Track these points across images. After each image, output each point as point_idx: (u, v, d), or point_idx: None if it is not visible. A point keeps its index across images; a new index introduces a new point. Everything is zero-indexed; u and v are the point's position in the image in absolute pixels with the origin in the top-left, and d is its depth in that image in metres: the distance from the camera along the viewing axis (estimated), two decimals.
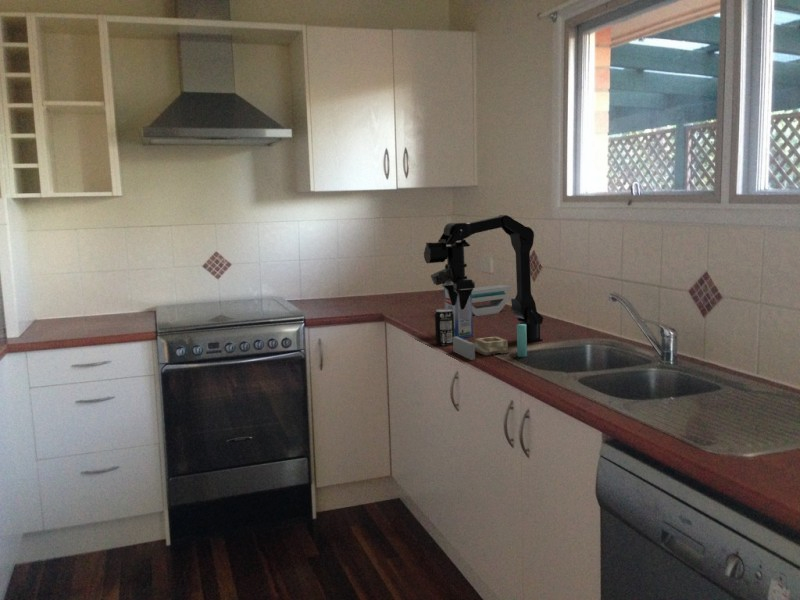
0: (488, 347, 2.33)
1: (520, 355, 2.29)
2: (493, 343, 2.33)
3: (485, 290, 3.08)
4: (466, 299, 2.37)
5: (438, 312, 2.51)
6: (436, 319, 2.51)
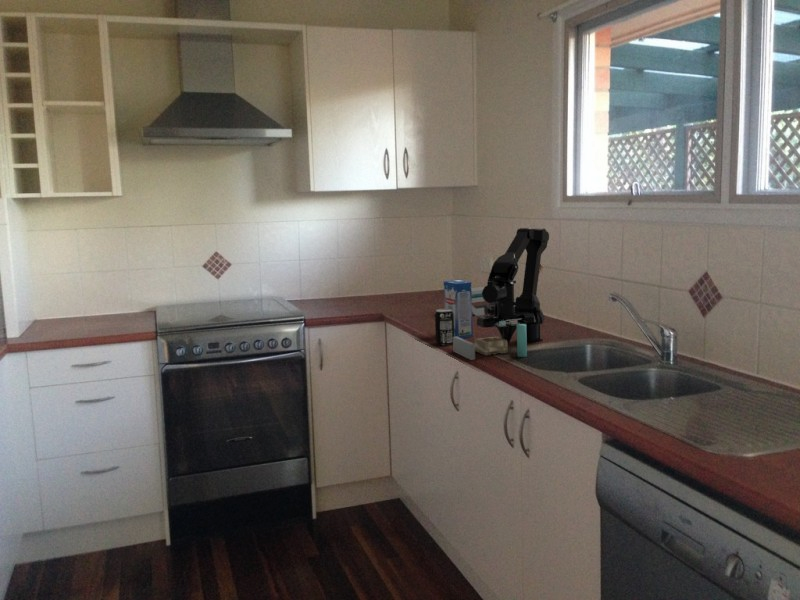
0: (488, 347, 2.33)
1: (520, 355, 2.29)
2: (493, 343, 2.33)
3: None
4: (504, 336, 2.37)
5: (438, 312, 2.51)
6: (436, 319, 2.51)
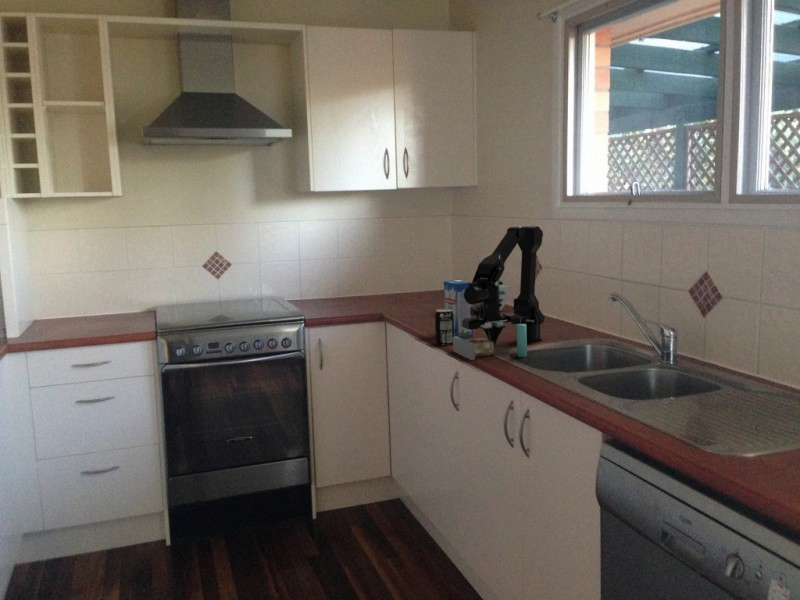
0: None
1: (520, 355, 2.29)
2: (479, 345, 2.32)
3: None
4: (490, 338, 2.36)
5: (438, 312, 2.51)
6: (436, 319, 2.51)
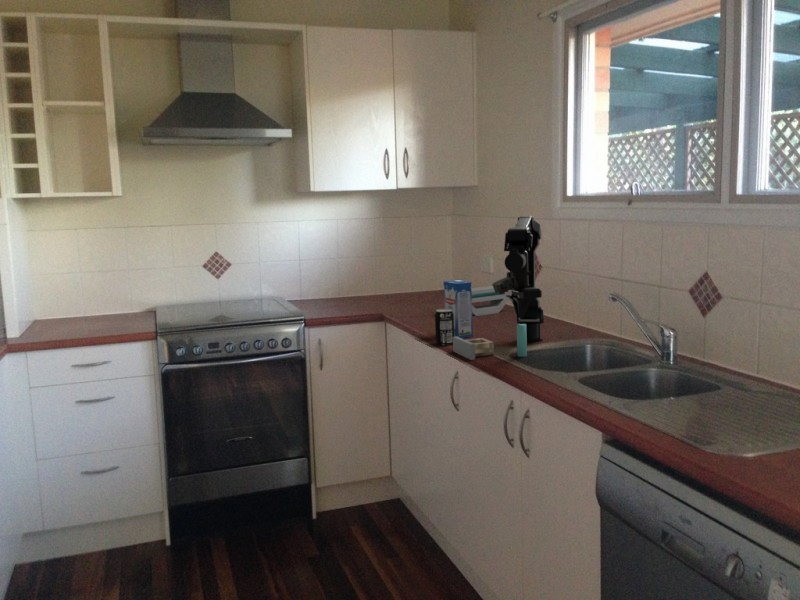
0: None
1: (520, 355, 2.29)
2: (479, 345, 2.32)
3: (485, 290, 3.08)
4: (525, 307, 2.27)
5: (438, 312, 2.51)
6: (436, 319, 2.51)
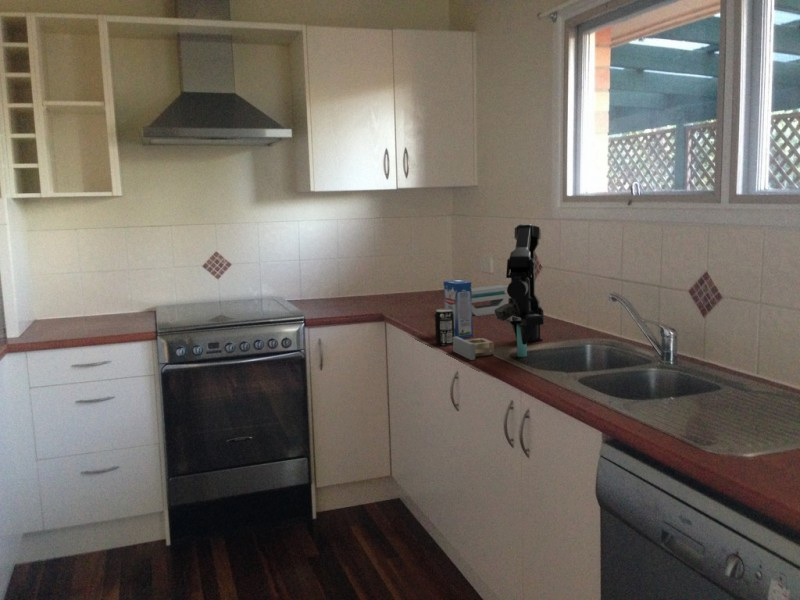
0: None
1: (520, 355, 2.29)
2: (479, 345, 2.32)
3: (485, 290, 3.08)
4: (529, 334, 2.27)
5: (438, 312, 2.51)
6: (436, 319, 2.51)
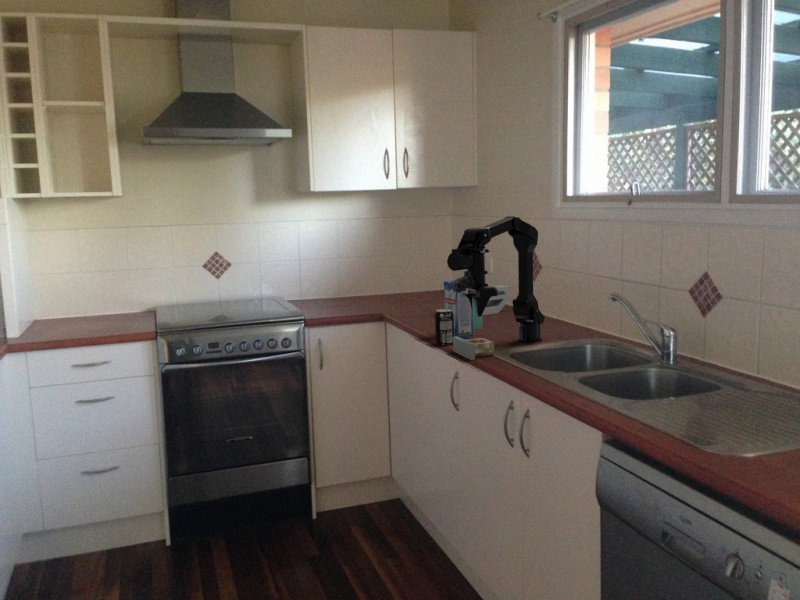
0: None
1: (475, 327, 2.33)
2: (479, 345, 2.32)
3: None
4: (484, 306, 2.31)
5: (438, 312, 2.51)
6: (436, 319, 2.51)
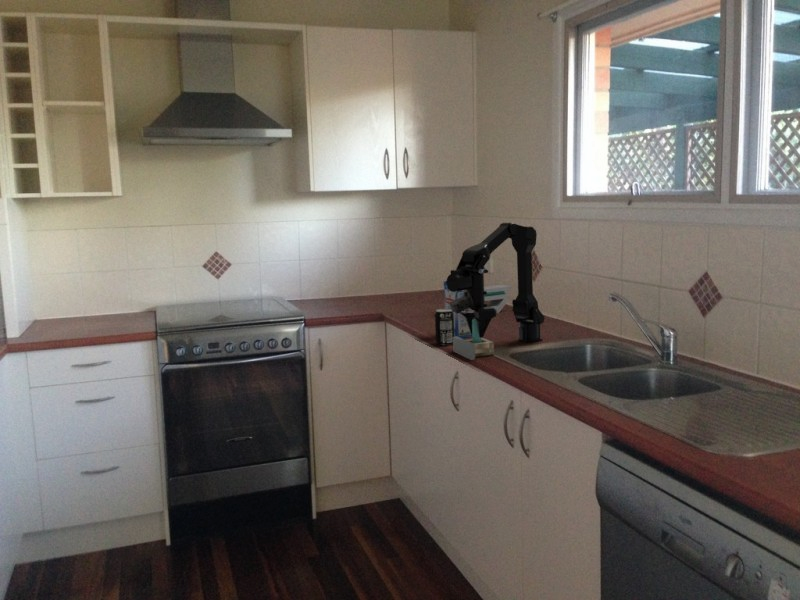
0: None
1: None
2: (479, 345, 2.32)
3: (485, 290, 3.08)
4: (485, 327, 2.31)
5: (438, 312, 2.51)
6: (436, 319, 2.51)
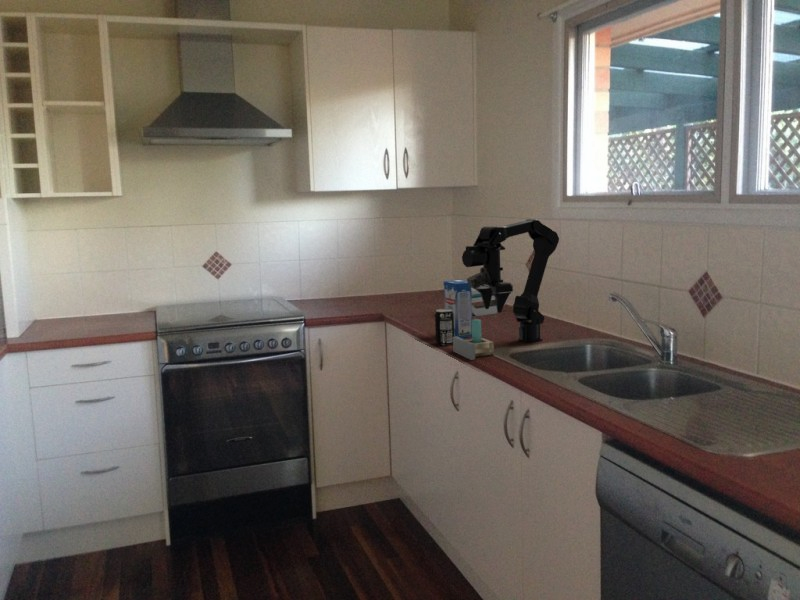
0: None
1: None
2: (479, 345, 2.32)
3: None
4: (503, 302, 2.37)
5: (438, 312, 2.51)
6: (436, 319, 2.51)
